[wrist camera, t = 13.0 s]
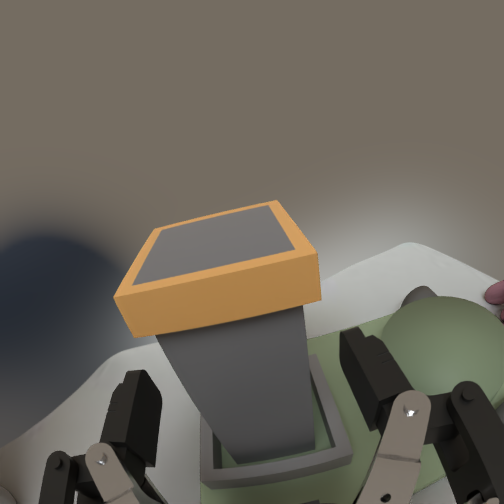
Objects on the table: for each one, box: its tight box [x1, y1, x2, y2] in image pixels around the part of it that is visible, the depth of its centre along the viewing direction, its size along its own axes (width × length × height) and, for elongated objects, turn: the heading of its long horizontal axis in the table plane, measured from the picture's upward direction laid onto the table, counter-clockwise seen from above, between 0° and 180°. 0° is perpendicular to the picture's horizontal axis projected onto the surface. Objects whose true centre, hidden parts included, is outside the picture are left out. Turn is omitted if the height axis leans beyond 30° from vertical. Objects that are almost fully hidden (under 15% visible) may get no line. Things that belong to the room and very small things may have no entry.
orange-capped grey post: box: [113, 200, 321, 464], centre depth 13 cm, size 6×6×14 cm
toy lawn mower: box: [200, 286, 504, 504], centre depth 16 cm, size 24×16×5 cm
